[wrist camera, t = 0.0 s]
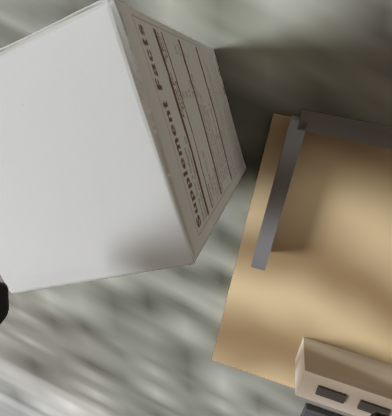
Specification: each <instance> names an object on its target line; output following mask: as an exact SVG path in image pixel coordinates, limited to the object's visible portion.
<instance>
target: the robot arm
mask: <svg viewBox="0 0 392 416" xmlns="http://www.w3.org/2000/svg"><path fill="white" fill-rule="evenodd" d="M8 311H9V298H8V286H7V284H5V283H3V282H1V281H0V324H1V323H2V322H3V320H4V319H5V318H6V316H7V314H8ZM370 416H389V415H386V414H384V413H381V412H378V411H375V412H373V413H372V414H371V415H370Z"/></svg>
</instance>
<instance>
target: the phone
mask: <svg viewBox="0 0 392 416" xmlns="http://www.w3.org/2000/svg"><path fill="white" fill-rule="evenodd" d="M301 416H341V415H339V414H336V413H333V412H330V411H327V410H324V409H322V408H319V407H316V406H313V405H310V404H307V403H306V404H305V407H304V409H303V412H302V414H301Z"/></svg>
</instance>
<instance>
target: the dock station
mask: <svg viewBox="0 0 392 416" xmlns="http://www.w3.org/2000/svg"><path fill="white" fill-rule="evenodd" d="M212 360H214V361H217V362H219V363H222V364H225V365H228V366H231V367H234V368H237V369H240V370H243V371H245V372H248V373H251V374H254V375H257V376H260V377H263V378H266V379H268V380H271V381H274V382H277V383H280V384H283V385H286V386H289V387H291V388H294V389H295V395H297V396H300V397H303V398H306V399H309V400H312V401H315V402H317V403H320V404H323V405H326V406H329V407H332V408H335V409H337V410H340V411H343V412H346V413H349V414H352V415H355V416H370V415H371V414H372V413H373V412H375V411H378V412H381V413H384V414H386V415H389V416H392V127H388V126H383V125H378V124H373V123H368V122H363V121H358V120H353V119H348V118H343V117H338V116H333V115H328V114H323V113H318V112H313V111H308V110H303V109H301V110H300V114H299V117H298V116H293V115H291V117H289V116H284V115H280V114H275V113H274V114H273V117H272V121H271V125H270V129H269V133H268V137H267V141H266V145H265V149H264V153H263V157H262V161H261V165H260V169H259V173H258V177H257V181H256V185H255V189H254V193H253V197H252V201H251V205H250V209H249V213H248V217H247V221H246V225H245V229H244V233H243V237H242V241H241V245H240V249H239V253H238V257H237V261H236V265H235V269H234V273H233V277H232V281H231V284H230V288H229V292H228V296H227V300H226V304H225V308H224V312H223V316H222V320H221V324H220V328H219V332H218V336H217V340H216V344H215V348H214V352H213V356H212Z"/></svg>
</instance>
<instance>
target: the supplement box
mask: <svg viewBox="0 0 392 416" xmlns="http://www.w3.org/2000/svg"><path fill="white" fill-rule="evenodd" d="M245 170H246V165H245V162H244V158H243V155H242V151H241V148H240V144H239V140H238V137H237V133H236V129H235V126H234V122H233V118H232V115H231V111H230V107H229V103H228V100H227V96H226V92H225V89H224V85H223V81H222V78H221V74H220V70H219V67H218V63H217V59H216V56H215V52H214V50H213V49H211V48H209V47H207V46H205V45H203V44H201V43H199V42H197V41H196V40H193V39H192V38H190V37H188V36H186V35H183V34H182V33H180V32H178V31H176V30H174V29H172V28H170V27H168V26H166V25H164V24H162V23H160V22H158V21H156V20H154V19H152V18H150V17H148V16H146V15H144V14H142V13H140V12H138V11H136V10H134V9H132V8H131V7H129V6H127V5H125V4H123V3H121V2H120V1H118V0H100V1H97V2H95V3H94V4H92V5H90V6H87V7H85V8H83V9H81V10H79V11H77V12H75V13H73V14H71V15H69V16H67V17H65V18H63V19H61V20H59V21H57V22H55V23H53V24H51V25H49V26H47V27H45V28H43V29H41V30H39V31H37V32H34V33H32V34H31V35H29V36H27V37H25V38H23V39H21V40H18V41H16V42H14V43H12V44H10V45H7V46H5V47H3V48H0V275H1V276H2V278H3V280H4V282H5V284H7V286H8V289H9V290H10V292H12V293H21V292H27V291H33V290H39V289H46V288H52V287H58V286H64V285H70V284H76V283H82V282H88V281H95V280H101V279H107V278H113V277H119V276H125V275H131V274H136V273H142V272H148V271H154V270H160V269H166V268H172V267H178V266H184V265H191V264H194V263H195V261H196V259H197V257H198V255H199V253H200V252H201V250H202V248H203V246H204V244H205V243H206V241H207V239H208V237H209V236H210V234H211V232H212V230H213V228H214V226H215V225H216V223H217V221H218V219H219V218H220V216H221V214H222V212H223V210H224V208H225V206H226V205H227V203H228V201H229V199H230V198H231V196H232V194H233V192H234V190H235V188H236V187H237V185H238V183H239V181H240V180H241V178H242V176H243V174H244V172H245Z"/></svg>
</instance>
